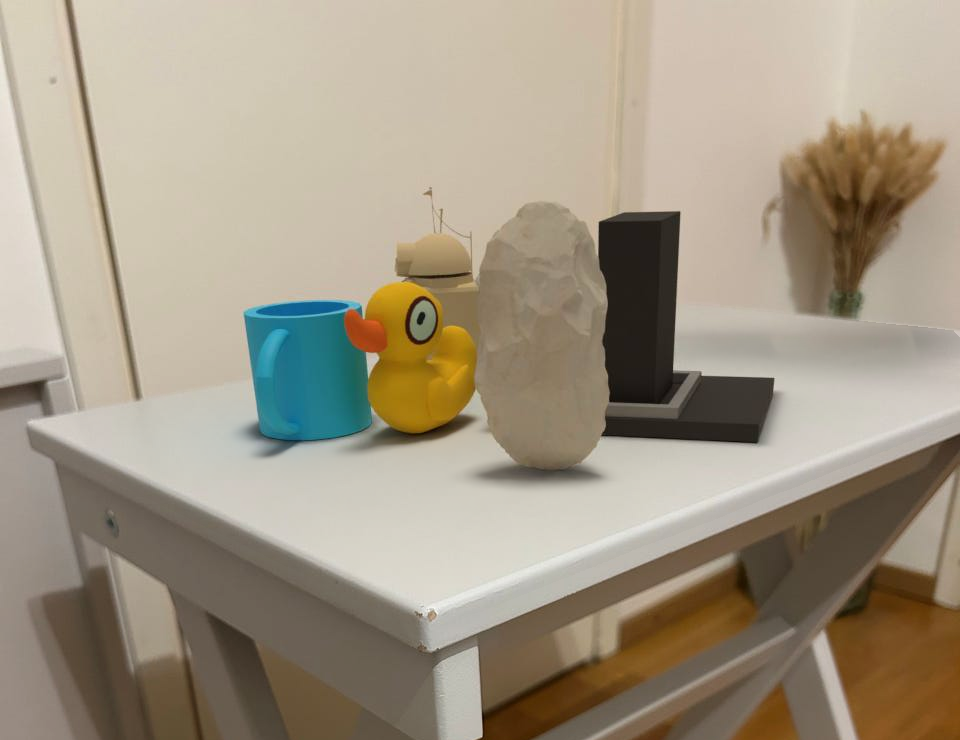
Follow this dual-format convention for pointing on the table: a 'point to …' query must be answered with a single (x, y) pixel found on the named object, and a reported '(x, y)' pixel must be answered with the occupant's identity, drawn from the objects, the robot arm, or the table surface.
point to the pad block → (639, 303)
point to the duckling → (413, 358)
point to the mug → (307, 370)
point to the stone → (543, 338)
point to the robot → (443, 276)
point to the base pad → (697, 410)
